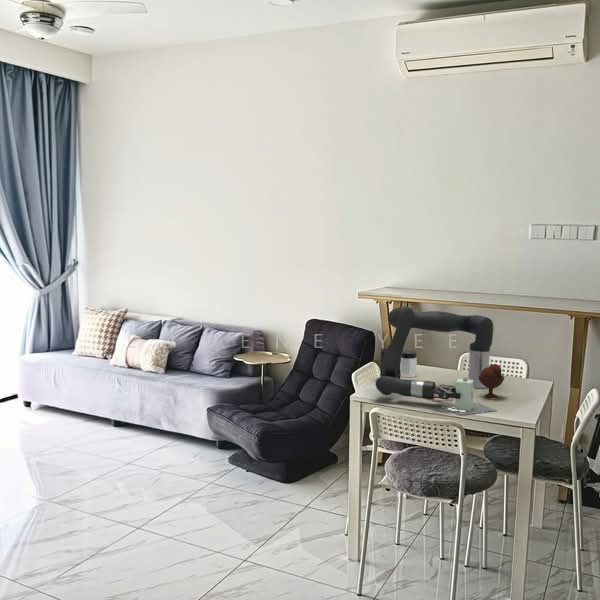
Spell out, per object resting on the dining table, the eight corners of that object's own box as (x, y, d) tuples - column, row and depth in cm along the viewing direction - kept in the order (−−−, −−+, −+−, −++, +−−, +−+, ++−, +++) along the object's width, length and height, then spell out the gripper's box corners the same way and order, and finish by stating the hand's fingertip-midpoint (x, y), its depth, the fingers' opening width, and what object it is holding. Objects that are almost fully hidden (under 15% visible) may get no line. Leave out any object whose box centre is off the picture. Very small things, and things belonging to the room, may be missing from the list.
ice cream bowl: (496, 393, 305) (497, 360, 303) (507, 400, 294) (509, 366, 292) (473, 394, 303) (475, 361, 301) (484, 400, 292) (486, 366, 290)
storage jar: (382, 377, 332) (383, 347, 330) (402, 379, 329) (403, 349, 327) (377, 382, 323) (378, 351, 321) (397, 384, 319) (398, 353, 318)
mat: (478, 403, 288) (478, 402, 288) (496, 411, 277) (496, 410, 277) (442, 407, 281) (442, 406, 281) (460, 415, 270) (460, 414, 270)
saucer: (442, 393, 303) (442, 391, 303) (458, 400, 292) (458, 398, 292) (419, 396, 299) (419, 394, 298) (435, 403, 288) (435, 400, 287)
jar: (406, 378, 332) (407, 354, 330) (395, 375, 339) (396, 351, 337) (419, 376, 337) (420, 352, 335) (408, 372, 343) (409, 349, 342)
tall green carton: (457, 405, 283) (458, 375, 281) (472, 407, 280) (474, 377, 279) (455, 409, 277) (456, 378, 276) (470, 411, 275) (471, 380, 273)
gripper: (419, 384, 278) (459, 388, 271) (427, 377, 291) (465, 381, 285) (419, 402, 279) (459, 407, 272) (426, 394, 292) (464, 398, 285)
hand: (462, 393), depth 278 cm, fingers open, 8 cm apart
